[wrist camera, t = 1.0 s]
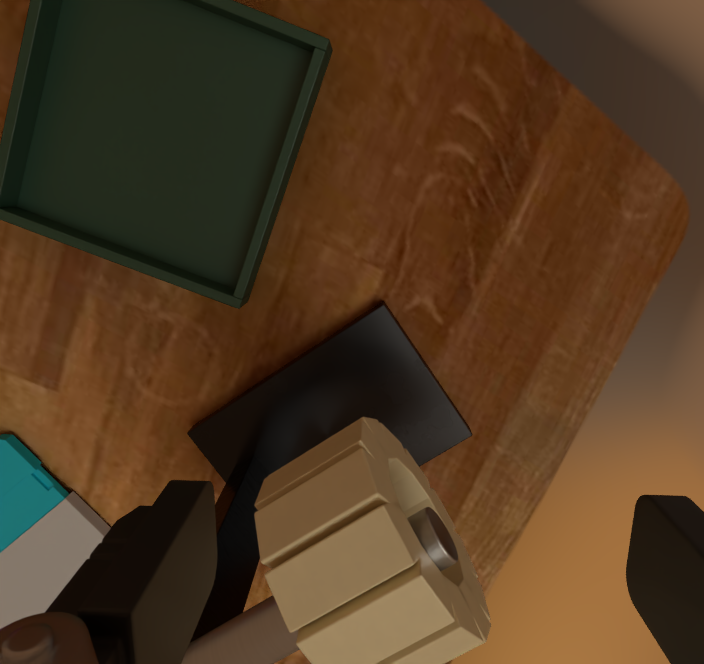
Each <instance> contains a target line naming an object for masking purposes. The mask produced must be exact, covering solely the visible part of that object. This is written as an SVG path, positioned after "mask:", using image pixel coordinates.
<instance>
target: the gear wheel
mask: <svg viewBox="0 0 704 664" xmlns="http://www.w3.org/2000/svg"><path fill="white" fill-rule="evenodd" d="M254 505H255V507H256V508H257V510H258V511H257V512H255V514H254V517H255V524H256V531H257V538H258V546H259V553H260V560H261V563H262V564H264V565H266V566H268V567H270V568H272V569H271V570H269V571H268V572H266V573H265V578H266V580H267V582H268V585H269V587H270V589H271V592H272V594H273V596H274V598H275V601H276V603H277V605H278V608H279V610H280V612H281V615H282V617H283V619H284V622H285V624H286V626H287V629H288V631H289V632H290V633H292V632H294V631H296V630H298V635H297V640H296V645H297V646H298V648H299V649H300V650H301V651H302V652H303V654H304V655H305V656H306V657H307V659H308V660H309V661H310V662H311V663H312V664H444V663H446V662H448V661H450V660H452V659H454V658H456V657H458V656H460V655H461V654H464V653H466V652H468V651H469V650H471V649H473V648H475V647H477V646H479V645H481V644H483V643H485V642H486V640H487V637H488V634H489V630H490V627H491V623H490V622H489V620H490V616H489V612H488V608H487V605H486V601H485V597H484V593H483V590H482V586H481V584H480V582H479V581H478V580H477V578H478V575H477V573H476V571H475V568H474V566H473V564H472V562H471V559H470V557H469V555H468V553H467V550H466V548H465V546H464V544H463V541H462V539H461V537H460V536H459V535H458V534H457V533H456V532H455V531H454V529H455V525H454V524H453V522H452V520H451V518H450V517H449V515H448V513H447V511H446V510H445V508H444V506H443V504H442V502H441V501H440V499H439V497H438V495H437V494H436V492H435V490H434V489H433V488H432V489H430V485H429V480H428V479H427V477H426V476H425V475H424V473H423V472H422V470H421V469H420V468H419V466H418V465H417V463H416V462H415V460H414V459H413V458H412V456H411V455H410V453H409V452H408V451H407V449H406V448H405V449H404V448H403V446H402V443H401V442H400V441H399V440H398V439H397V438H396V437H395V436H394V435H393V434H392V433H391V432H390V431H389V430H388V429H387V428H386V427H385V426H384V425H383V424H382V423H379V422H378V420H377V419H372V418H367V417H362V418H360V419H359V420H357V421H355V422H354V423H352V424H351V425H349V426H347V427H346V428H344V429H343V430H341V431H339V432H338V433H336V434H334V435H333V436H331V437H330V438H328V439H326V440H325V441H323V442H322V443H320V444H318V445H317V446H315V447H314V448H312V449H310V450H309V451H307V452H305V453H304V454H302V455H301V456H299V457H297V458H296V459H294V460H293V461H291V462H289V463H288V464H286V465H285V466H283V467H281V468H280V469H278V470H276V471H275V472H273V473H272V474H270V475H268V477H267V478H265V479H264V481H263V484H262V486H261V489H260V491H259V494H258V497H257V499H256V502H255V504H254ZM425 507H430V508H432V509H433V510H434V511H435V512H436V513H437V515H438V516H439V517H440V519H441V520H442V521H443V523H444V525H445V526H446V528H447V530H448V532H449V533H450V535H451V537H452V539H453V542H454V544H455V547H456V549H457V553H458V562H457V563H455V564H454V565H452V566H450V567H448V568H446V569H445V570H443V571H441V572H440V570H439V569H438V567H437V566H436V565H435V563H434V562H433V561H432V559H431V558H430V556H429V555H428V554H427V552H426V551H425V550H424V548H423V547H422V546H421V544H420V542H419V540H418V538H417V536H416V535H415V533H414V531H413V529H412V527H411V525H410V523H409V522H408V520H407V518H408V517H410V516H411V515H413V514H415V513H417V512H418V511H420V510H422V509H424V508H425Z"/></svg>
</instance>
